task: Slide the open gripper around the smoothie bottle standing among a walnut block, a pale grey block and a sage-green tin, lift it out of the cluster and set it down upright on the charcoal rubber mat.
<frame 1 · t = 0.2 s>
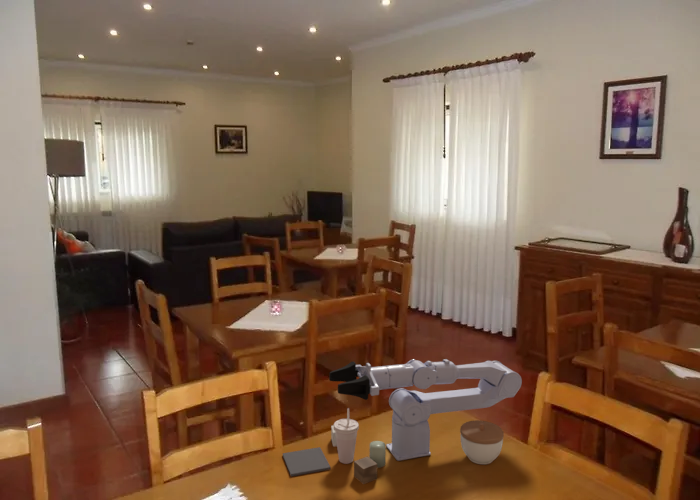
hand: (333, 382, 137), 22 cm above the table, tool horizontal, fingers open, 7 cm apart
lidded jar: (480, 458, 143), on the table
smoothie: (346, 460, 142), on the table
sage tin: (377, 463, 141), on the table
mat: (306, 462, 141), on the table
walnut block: (365, 477, 135), on the table
grey block: (339, 442, 151), on the table
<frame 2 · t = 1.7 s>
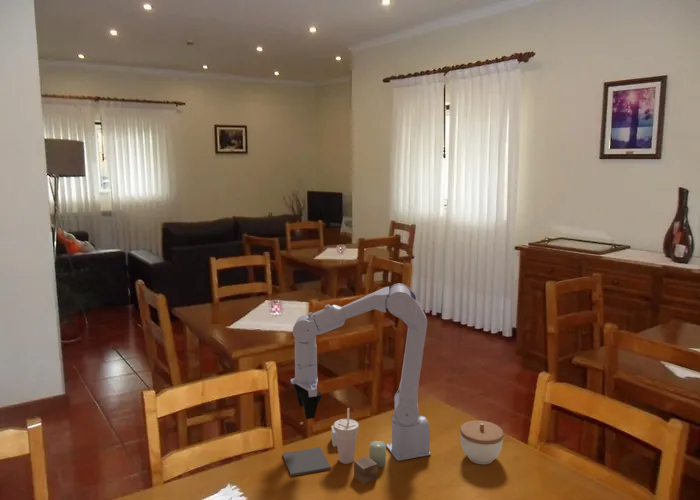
hand: (306, 411, 146), 10 cm above the table, tool pointing down, fingers open, 7 cm apart
nothing on the table moved.
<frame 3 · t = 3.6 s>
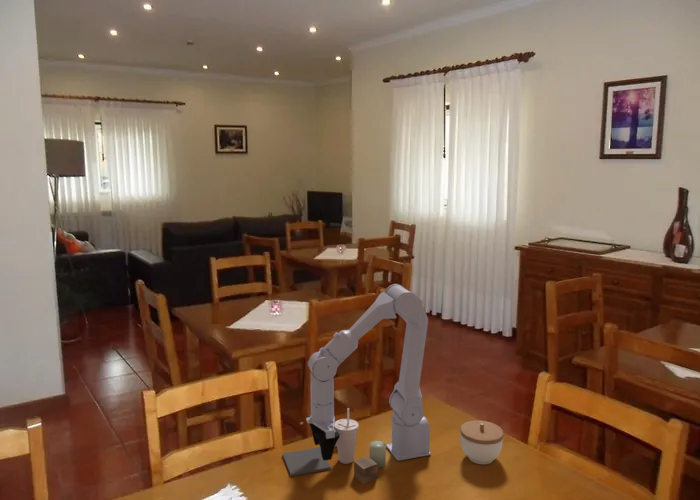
hand: (322, 451, 140), 3 cm above the table, tool pointing down, fingers open, 7 cm apart
nothing on the table moved.
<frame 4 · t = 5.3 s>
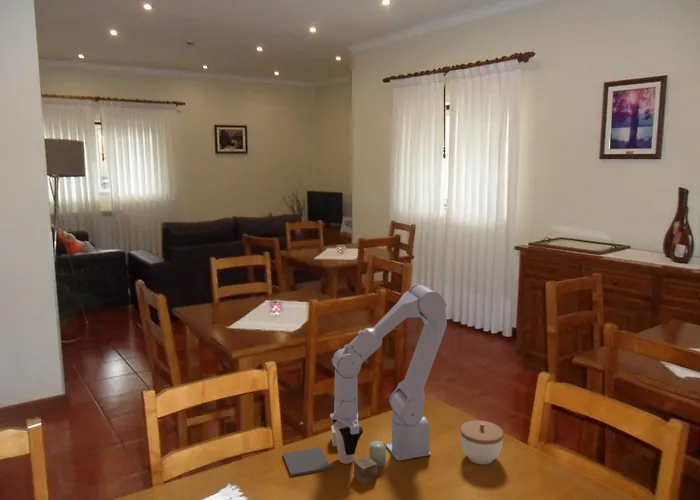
hand: (346, 447, 142), 3 cm above the table, tool pointing down, fingers closed on smoothie, 6 cm apart
smoothie: (346, 460, 142), on the table, touching gripper
everything else where it was.
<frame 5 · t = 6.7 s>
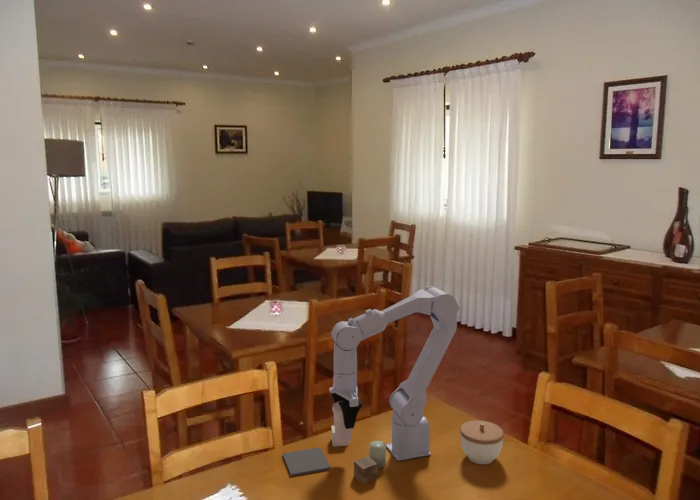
hand: (345, 421, 141), 10 cm above the table, tool pointing down, fingers closed on smoothie, 6 cm apart
smoothie: (342, 442, 142), point 5 cm above the table, touching gripper
everything else where it was.
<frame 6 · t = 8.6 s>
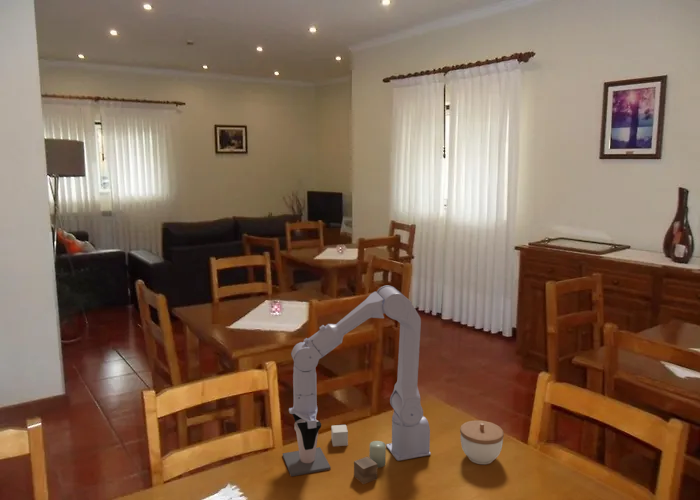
hand: (305, 442, 140), 5 cm above the table, tool pointing down, fingers closed on smoothie, 6 cm apart
smoothie: (307, 459, 142), resting on mat, touching gripper
everything else where it was.
when the fingers open (5 cm above the table, at t = 9.3 s): smoothie stays where it is, resting on mat.
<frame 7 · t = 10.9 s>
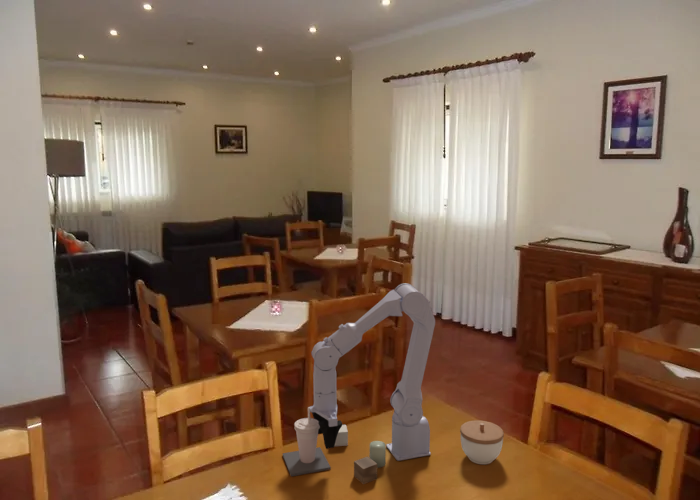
hand: (325, 440, 142), 5 cm above the table, tool pointing down, fingers open, 7 cm apart
smoothie: (307, 459, 142), resting on mat
everything else where it was.
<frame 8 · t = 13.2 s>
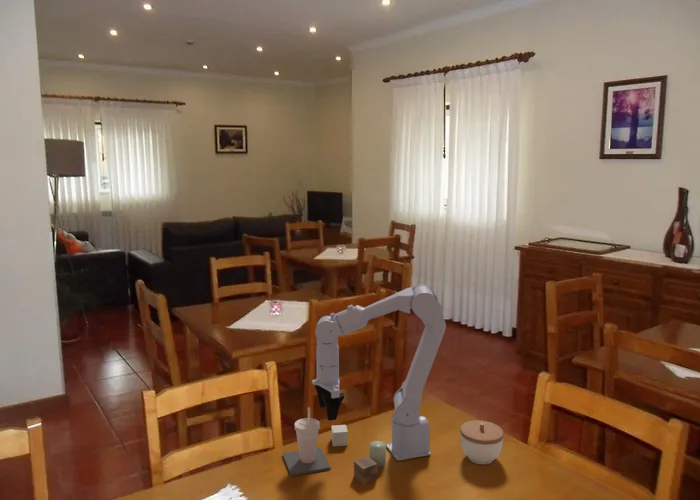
hand: (328, 412, 145), 10 cm above the table, tool pointing down, fingers open, 7 cm apart
nothing on the table moved.
at the end: smoothie 0.6 cm off-centre on the mat, point 0.4 cm above the mat's base; smoothie tilted 0°; the gripper is holding nothing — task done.
